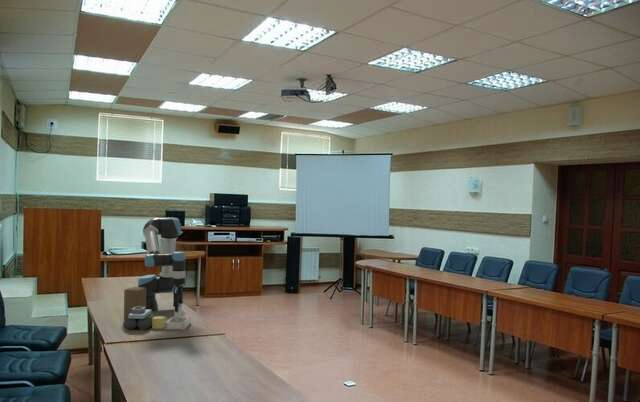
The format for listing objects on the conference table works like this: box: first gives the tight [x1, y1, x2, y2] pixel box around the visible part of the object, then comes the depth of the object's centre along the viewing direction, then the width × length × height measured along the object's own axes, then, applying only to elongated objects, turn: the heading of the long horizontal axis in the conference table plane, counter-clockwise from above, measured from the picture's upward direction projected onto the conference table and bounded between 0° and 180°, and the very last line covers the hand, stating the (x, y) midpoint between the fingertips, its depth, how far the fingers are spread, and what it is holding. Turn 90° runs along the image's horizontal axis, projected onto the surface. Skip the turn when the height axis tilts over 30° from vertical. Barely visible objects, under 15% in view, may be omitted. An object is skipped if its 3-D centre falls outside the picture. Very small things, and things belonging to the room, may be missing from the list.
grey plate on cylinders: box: [123, 307, 156, 331], centre depth 285 cm, size 14×15×12 cm
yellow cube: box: [151, 316, 166, 330], centre depth 285 cm, size 5×6×6 cm
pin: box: [175, 303, 182, 323], centre depth 288 cm, size 4×4×13 cm
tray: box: [164, 316, 191, 331], centre depth 288 cm, size 15×12×4 cm
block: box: [123, 286, 146, 322], centre depth 301 cm, size 10×10×20 cm
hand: (178, 315), depth 288 cm, fingers open, 5 cm apart
